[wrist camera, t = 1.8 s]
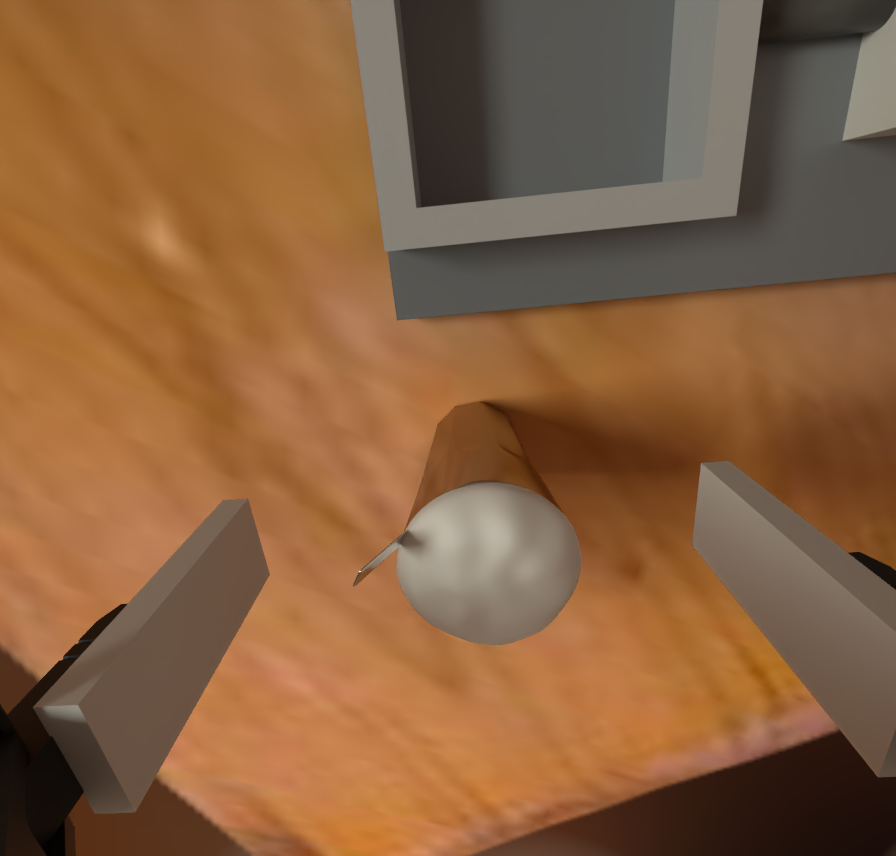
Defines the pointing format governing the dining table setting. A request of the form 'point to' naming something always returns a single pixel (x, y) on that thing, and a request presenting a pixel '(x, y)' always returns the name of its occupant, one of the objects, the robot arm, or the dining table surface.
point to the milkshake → (484, 535)
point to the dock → (626, 146)
